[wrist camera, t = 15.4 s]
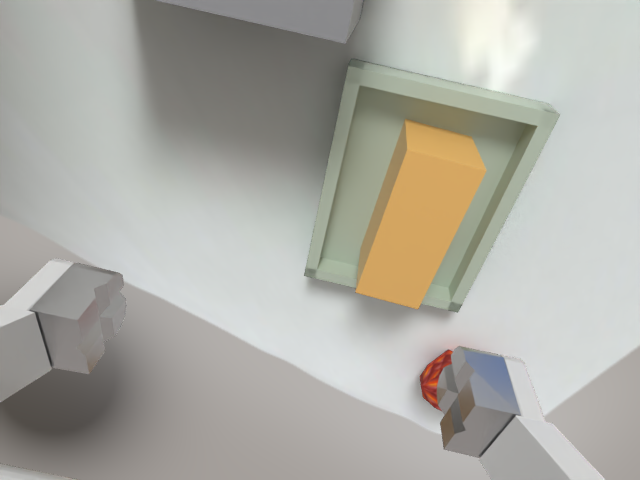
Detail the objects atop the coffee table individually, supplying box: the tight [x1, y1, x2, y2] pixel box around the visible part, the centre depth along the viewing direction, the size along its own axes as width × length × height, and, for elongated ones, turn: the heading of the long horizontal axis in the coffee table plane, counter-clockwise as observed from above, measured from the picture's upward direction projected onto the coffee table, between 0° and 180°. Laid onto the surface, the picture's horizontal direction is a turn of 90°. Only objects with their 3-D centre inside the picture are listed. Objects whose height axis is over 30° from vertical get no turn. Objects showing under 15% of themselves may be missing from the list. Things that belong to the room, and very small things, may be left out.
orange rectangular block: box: [355, 119, 487, 309], centre depth 32 cm, size 5×13×6 cm, turn 167°
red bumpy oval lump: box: [420, 350, 453, 411], centre depth 42 cm, size 6×7×8 cm
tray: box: [304, 59, 560, 312], centre depth 33 cm, size 14×18×2 cm
